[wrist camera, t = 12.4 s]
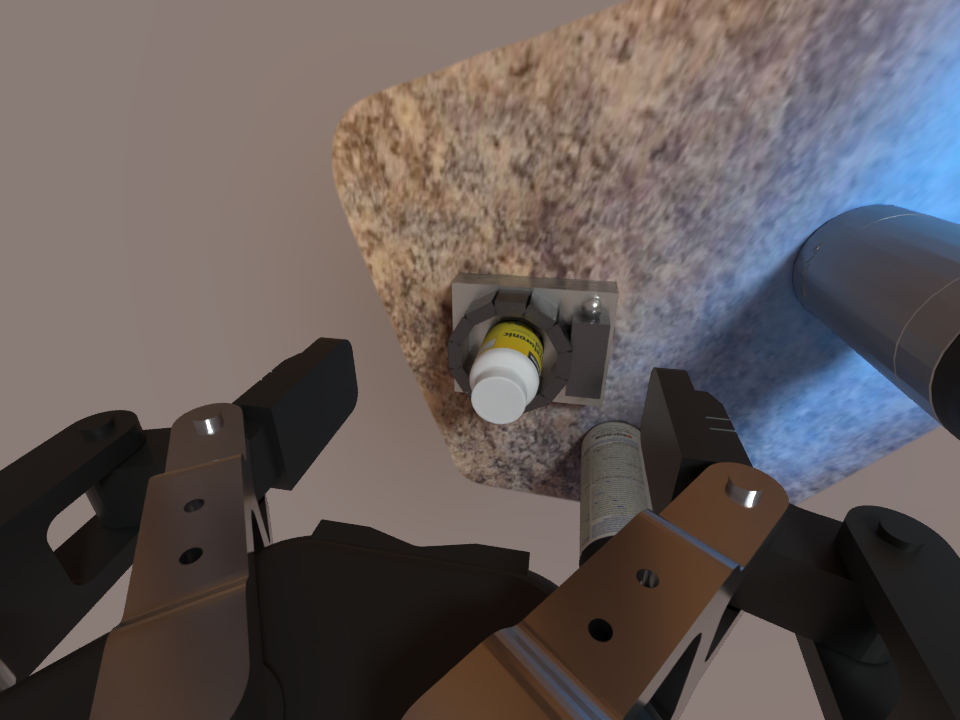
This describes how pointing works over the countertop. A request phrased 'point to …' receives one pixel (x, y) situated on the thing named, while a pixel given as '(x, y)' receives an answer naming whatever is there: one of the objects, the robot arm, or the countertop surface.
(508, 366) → the supplement bottle
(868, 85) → the countertop surface
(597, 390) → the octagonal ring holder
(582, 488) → the spray can
